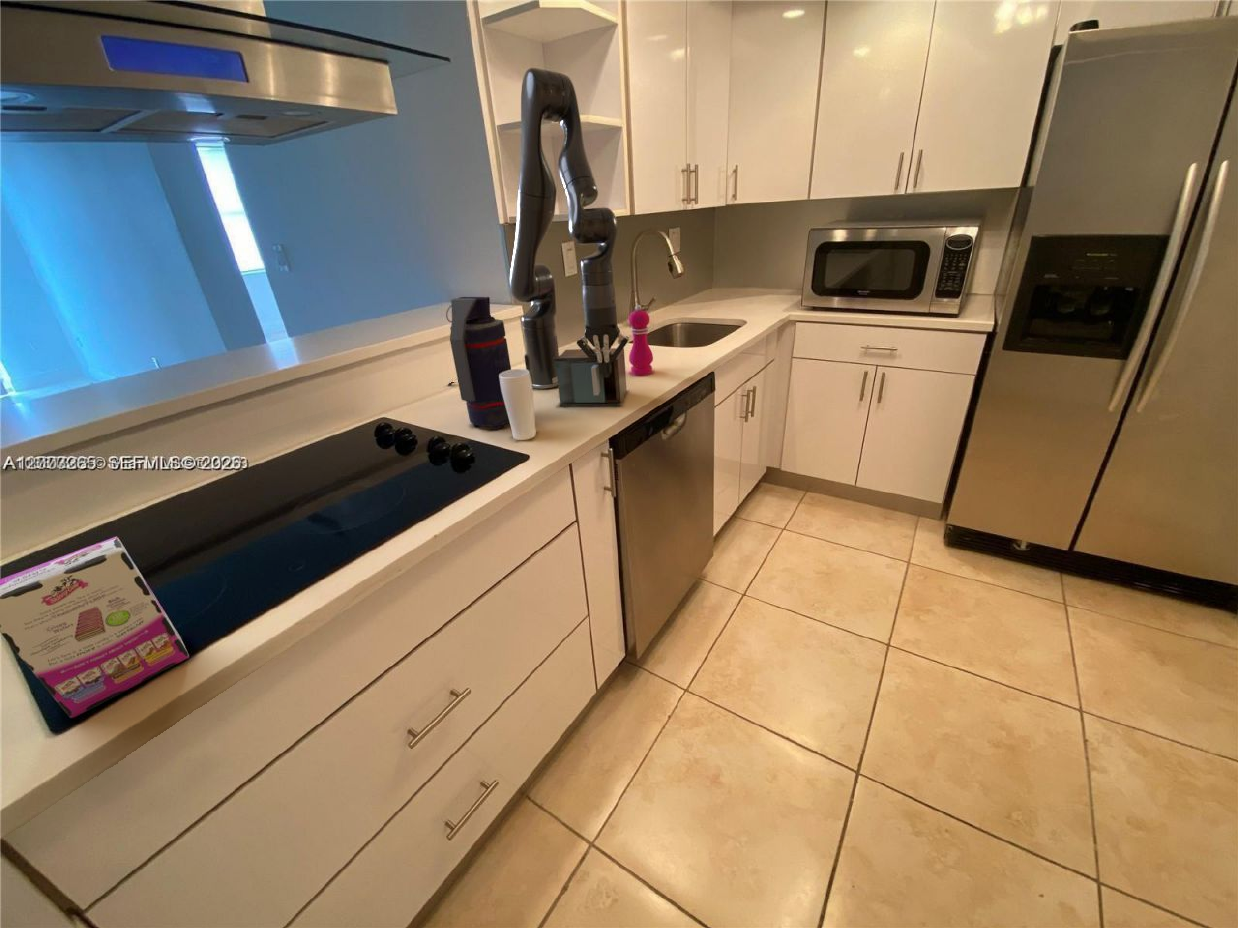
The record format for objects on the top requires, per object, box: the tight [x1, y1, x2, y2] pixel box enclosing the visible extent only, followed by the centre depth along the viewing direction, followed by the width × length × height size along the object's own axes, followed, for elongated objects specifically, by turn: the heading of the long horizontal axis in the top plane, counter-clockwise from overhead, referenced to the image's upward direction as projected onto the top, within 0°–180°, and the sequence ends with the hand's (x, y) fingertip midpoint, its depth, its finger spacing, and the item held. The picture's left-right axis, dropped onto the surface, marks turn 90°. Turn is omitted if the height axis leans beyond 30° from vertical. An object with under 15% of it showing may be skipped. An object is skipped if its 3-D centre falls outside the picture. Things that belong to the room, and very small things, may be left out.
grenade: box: [445, 296, 512, 430], centre depth 122 cm, size 14×12×30 cm
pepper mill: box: [628, 304, 654, 377], centre depth 154 cm, size 7×7×20 cm
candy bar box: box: [0, 536, 190, 719], centre depth 58 cm, size 11×5×16 cm, turn 138°
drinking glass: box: [499, 368, 537, 441], centre depth 116 cm, size 7×7×15 cm
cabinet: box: [554, 347, 628, 408], centre depth 137 cm, size 16×12×13 cm
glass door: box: [571, 362, 605, 403], centre depth 131 cm, size 8×4×10 cm, turn 80°
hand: (605, 376), depth 128 cm, fingers closed
